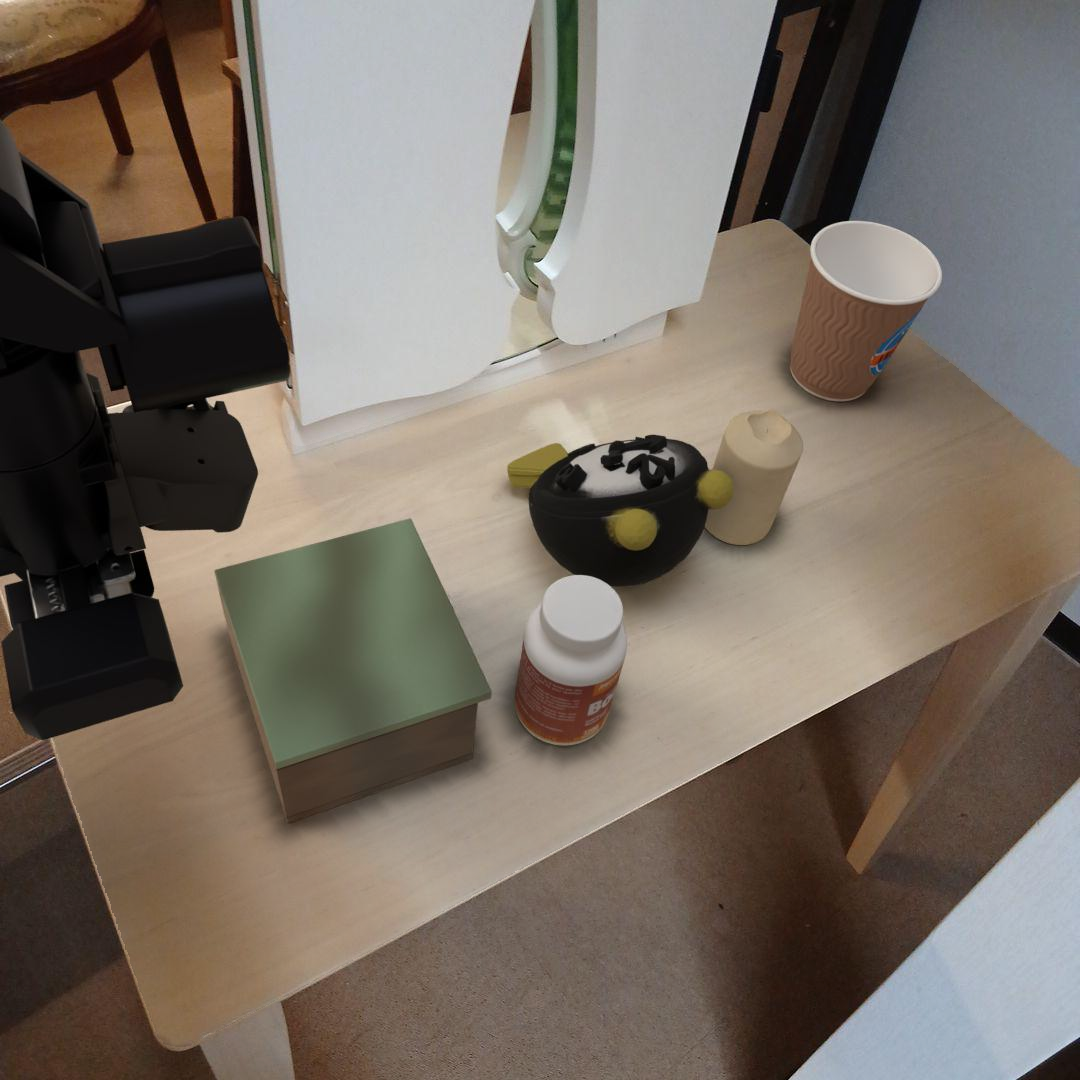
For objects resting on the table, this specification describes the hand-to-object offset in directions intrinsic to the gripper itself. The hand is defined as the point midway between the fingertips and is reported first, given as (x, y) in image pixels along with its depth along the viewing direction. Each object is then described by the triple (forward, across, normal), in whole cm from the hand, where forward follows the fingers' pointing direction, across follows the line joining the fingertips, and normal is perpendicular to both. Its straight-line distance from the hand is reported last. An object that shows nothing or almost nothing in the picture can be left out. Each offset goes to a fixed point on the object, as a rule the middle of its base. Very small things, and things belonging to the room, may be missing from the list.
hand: (106, 639), depth 54 cm
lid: (+6, 0, -12) cm, 14 cm away
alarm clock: (+13, +6, -33) cm, 36 cm away
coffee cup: (+13, +16, -60) cm, 63 cm away
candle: (+13, +5, -44) cm, 46 cm away
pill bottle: (+13, -5, -24) cm, 28 cm away
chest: (+13, 0, -12) cm, 18 cm away
